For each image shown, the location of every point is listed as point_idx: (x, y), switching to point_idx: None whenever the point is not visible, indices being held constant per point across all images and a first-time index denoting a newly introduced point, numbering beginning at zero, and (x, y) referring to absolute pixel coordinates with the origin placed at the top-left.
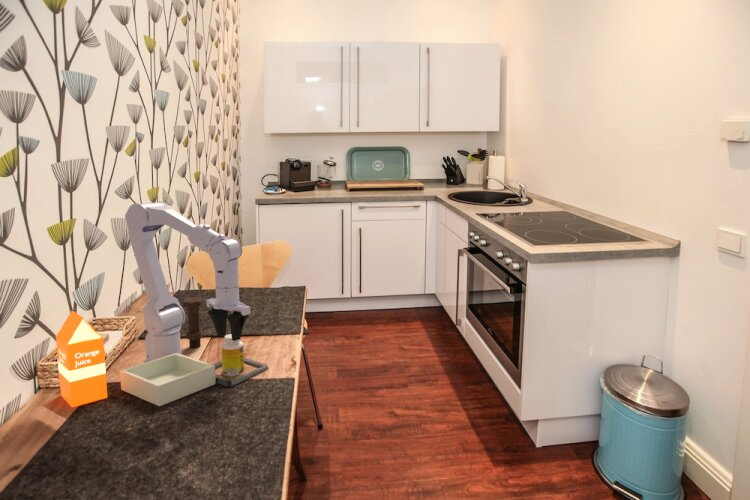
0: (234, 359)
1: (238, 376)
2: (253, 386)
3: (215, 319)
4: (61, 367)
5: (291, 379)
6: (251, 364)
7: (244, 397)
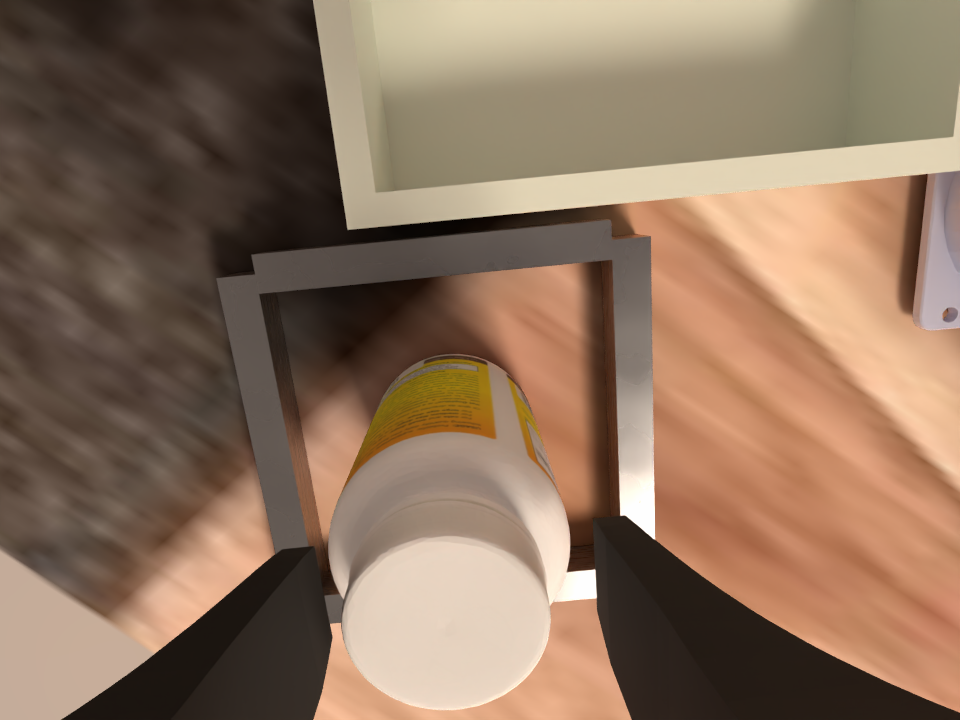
0: (361, 447)
1: (270, 368)
2: (146, 380)
3: (722, 704)
4: None
5: (86, 604)
6: None
7: (8, 224)
